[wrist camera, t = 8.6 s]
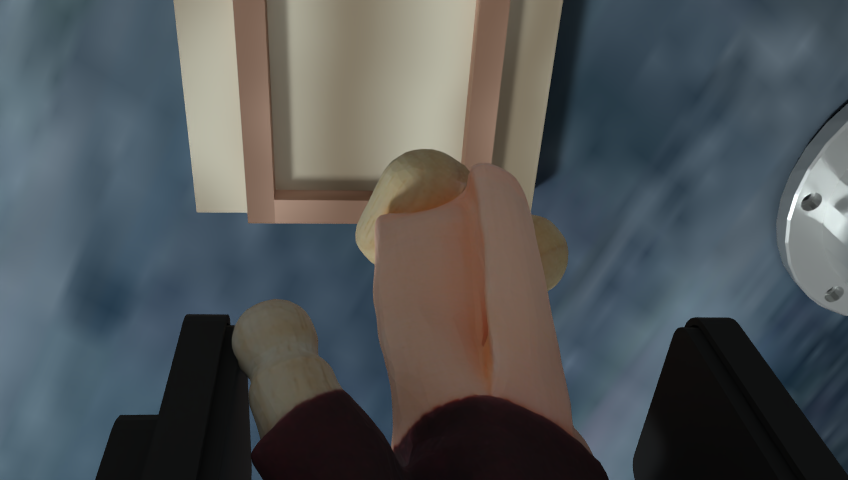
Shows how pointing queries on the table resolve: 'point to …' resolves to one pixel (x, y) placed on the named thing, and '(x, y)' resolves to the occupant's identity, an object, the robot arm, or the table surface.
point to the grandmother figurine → (429, 343)
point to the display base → (356, 96)
